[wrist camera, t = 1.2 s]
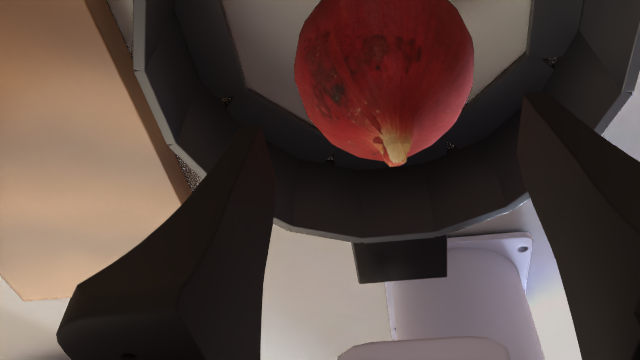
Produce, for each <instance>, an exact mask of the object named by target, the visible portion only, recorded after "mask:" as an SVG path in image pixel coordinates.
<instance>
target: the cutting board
mask: <svg viewBox="0 0 640 360" xmlns="http://www.w3.org/2000/svg"><path fill="white" fill-rule="evenodd" d="M191 193H192V191H191V189H190V187H189V185H188V182H187V180H186V178H185V176H184V173H183V171H182V169H181V167H180V165H179V162H178V160H177V158H176V156H175V153H174V152H173V151H172V150H171V149H170V148H169V147H168V144H166V142H165V139H164V137H163V135H162V133H161V131H160V128H159V126H158V124H157V122H156V120H155V117H154V115H153V113H152V111H151V109H150V106H149V104H148V102H147V100H146V98H145V95H144V93H143V91H142V89H141V87H140V84H139V82H138V80H137V78H136V75H135V73H134V69H133V60H132V57H131V55H130V53H129V51H128V48H127V46H126V44H125V42H124V39H123V37H122V35H121V33H120V30H119V28H118V26H117V24H116V22H115V19H114V17H113V15H112V13H111V10H110V8H109V6H108V4H107V1H106V0H0V276H1V277H2V278H3V279H4V280H5V281H6V282H7V283H8V285H9V286H10V287H11V288H12V289H13V290H14V291H15V292H16V293H17V294H18V296H19V297H20V298H21V299H22V300H23V301H32V300H45V299H58V298H71V297H72V295H73V293H74V291H75V289H76V287H77V285H78V284H79V283H81V282H83V281H85V280H86V279H88V278H89V277H91V276H93V275H94V274H96V273H98V272H99V271H101V270H102V269H104V268H106V267H107V266H109V265H110V264H112V263H113V262H115V261H116V260H118V259H119V258H120V257H122V256H123V255H125V254H126V253H127V252H129V251H130V250H131V249H133V248H134V247H135V246H137V245H138V244H139V243H141V242H142V241H143V240H144V239H145V238H147V237H148V236H149V235H150V234H151V233H152V232H153V231H155V230H156V229H157V228H158V227H159V226H160V225H162V224H163V223H164V222H165V221H166V220H167V219H168V218H169V217H170V216H171V215H172V214H173V213H174V212H175V211H176V210H177V209H178V208H179V207H180V206H181V205H182V204H183V203H184V202H185V201H186V199H187V198H188V197H189V196H190V195H191Z"/></svg>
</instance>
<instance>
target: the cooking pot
mask: <svg viewBox="0 0 640 360" xmlns="http://www.w3.org/2000/svg"><path fill="white" fill-rule="evenodd" d="M554 57H558V58H557V60H556V61H555V63H554V64H553V66H552V65H551V64H550V63H548V62H547V61H546V60H545V59H546V58H554ZM133 69H134V73H135V75H136V78H137V80H138V82H139V84H140V87H141V89H142V91H143V93H144V95H145V98H146V100H147V102H148V104H149V106H150V109H151V111H152V113H153V115H154V117H155V120H156V122H157V124H158V126H159V128H160V131H161V133H162V135H163V137H164V139H165V142H166V144H168V147H169V148H170V149H171V150H172V151H173V152H175V153H176V154H177V155H178V156H179V157H180V158H181V159H182V160H183V161H184V162H185V163H186V164H187V165H188V166H189V167H190V168H191V169H192V170H193V171H194V172H195V173H196V174H197V175H198V176H199V177H200V178H201V179H202V180H203V179H204V177H205V176H206V175H207V173H208V172H209V171H210V169H211V168H212V166H213V165H214V164H215V162H216V161H217V160H218V158H219V157H220V155H221V154H222V152H223V151H224V149H225V148H226V146H227V145H228V144H229V142H230V141H231V139H232V138H233V136H234V135H235V133H236V132H237V130H238V129H239V128H240V127H248V126H256V125H261V128H262V132H263V135H264V138H265V142H266V145H267V149H268V152H269V155H270V159H271V162H272V166H273V169H274V172H275V176H276V200H275V213H274V219H273V224H275V225H277V226H279V227H281V228H283V229H285V230H287V231H289V230H290V232H296V233H302V234H307V235H313V236H319V237H324V238H330V239H336V240H342V241H347V242H351V244H352V249H353V255H354V260H355V265H356V271H357V276H358V282H359V284H366V283H379V282H392V281H405V280H418V279H431V278H445V277H447V234H449V233H451V232H454V231H457V230H460V229H463V228H466V227H468V226H471V225H474V224H477V223H480V222H483V221H485V220H488V219H491V218H494V217H497V216H500V215H502V214H505V213H508V212H510V210H514V209H515V208H517V207H518V206H520V205H521V204H523V203H524V202H525V201H527V200H528V199H530V196H529V193H528V191H527V188H526V186H525V183H524V179H523V176H522V172H521V168H520V164H519V160H518V156H517V147H518V138H519V129H520V120H521V112H522V103H523V95H524V94H533V93H542V92H548V93H549V94H551V95H552V96H553V97H554V98H555V99H556V100H558V101H559V102H560V103H561V104H562V105H564V106H565V107H566V108H567V109H568V110H569V111H571V112H572V113H573V114H574V115H575V116H577V117H578V118H579V119H580V120H582V121H583V122H584V123H585V124H586V125H588V126H589V127H590V128H592V129H593V130H594V131H595V132H597V133H598V134H599V135H602V133H603V132H604V131H605V129H606V128H607V127H608V125H609V124H610V123H611V122H612V120H613V119H614V118H615V116H616V115H617V114H618V112H619V111H620V110H621V108H622V107H623V106H624V104H625V103H626V102H627V100H628V99H629V98H630V96H631V95H632V92H633V91H634V89H635V85H636V81H637V78H638V74H639V71H640V0H531V9H530V18H529V28H528V37H527V46H526V53H524V54H523V55H522V56H521V57H520V58H519V59H518V60H517V61H516V62H514V63H513V64H512V65H511V66H510V67H509V68H508V69H507V70H505V71H504V72H503V73H502V74H501V75H500V76H499V77H498V78H497V79H495V80H494V81H493V82H492V83H491V84H490V85H489V86H488V87H486V88H485V89H484V90H483V91H482V92H481V93H480V94H479V95H477V96H476V97H475V98H474V99H473V100H472V101H471V102H470V103H469V104H467V105H466V106H465V107H464V108H463V109H462V110H461V112H460V114H459V116H458V118H457V120H456V122H455V123H454V124H453V126H452V127H451V128H450V129H449V130H448V131H447V132H446V133H444V134H443V135H442V136H441V137H440V138H439V139H438V140H437V141H436V142H434V143H433V144H432V145H431V146H429V147H427V148H425V149H423V150H421V151H419V152H417V153H415V154H413V155H411V156H409V157H407V161H406V162H405V163H404V164H402V165H400V166H394V167H390V166H389V165H388V164H387V163H386V162H385V161H379V160H372V159H366V158H360V157H357V156H355V155H353V154H351V153H349V152H347V151H345V150H343V149H341V148H338V147H337V146H335V145H333V144H332V143H330V141H329V140H328V139H327V138H326V137H325V136H324V135H323V134H322V132H321V131H320V130H319V129H317V128H315V127H314V126H312V125H310V124H309V123H307V122H305V121H304V120H302V119H300V118H298V117H297V116H295V115H293V114H292V113H290V112H288V111H287V110H285V109H283V108H282V107H280V106H278V105H276V104H275V103H273V102H271V101H270V100H268V99H266V98H265V97H263V96H261V95H259V94H258V93H256V92H254V91H253V90H251V89H249V88H248V87H247V86H246V82H245V79H244V75H243V72H242V69H241V65H240V62H239V59H238V55H237V52H236V48H235V45H234V42H233V38H232V35H231V32H230V28H229V25H228V22H227V18H226V15H225V11H224V8H223V5H222V1H221V0H133ZM229 97H232V99H231V100H230V102H229V103H228V104H227V105H226V104H225V103H224V102H223V101H222V100H221V98H229ZM447 141H448V142H450V143H451V144H453V145H454V146H456V147H454V148H451V149H449V150H447ZM332 153H333V157H334V162H332V161H327V160H326V159H327V158H328V157H329V156H330V155H331V154H332Z"/></svg>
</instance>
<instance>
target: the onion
mask: <svg viewBox="0 0 640 360" xmlns="http://www.w3.org/2000/svg"><path fill="white" fill-rule="evenodd" d="M473 67H474V47H473V42H472V37H471V35H470V33H469V32H468V30H467V28H466V26H465V24H464V22H463V20H462V18H461V16H460V14H459V12H458V10H457V9H456V8H455V7H454V6H453V5H452V4H451V3H450V2H449V1H448V0H321V1H320V2H319V4H318V5H317V6H316V7H315V9H314V10H313V11H312V13H311V14H310V15H309V17H308V18H307V19H306V20H305V22H304V25H303V27H302V29H301V32H300V34H299V40H298V46H297V51H296V57H295V63H294V77H295V82H296V85H297V88H298V91H299V94H300V97H301V99H302V102H303V105H304V108H305V110H306V113H307V115H308V117H309V119H310V120H311V121H312V122H313V123H314V125H315V126H316V127H317V128H318V129H319V130H320V131H321V132H322V134H323V135H324V136H325V137H326V138H327V139H328V140H329V141H330V143H332V144H333V145H335V146H337V147H338V148H341V149H343V150H345V151H347V152H349V153H351V154H353V155H355V156H357V157H360V158H366V159H372V160H379V161H385V162H386V163H387V164H388V165H389V166H390V167H394V166H400V165H402V164H404V163H405V162H406V161H407V157H409V156H411V155H413V154H415V153H417V152H419V151H421V150H423V149H425V148H427V147H429V146H431V145H432V144H433V143H434V142H436V141H437V140H438V139H439V138H440V137H441V136H442V135H443V134H444V133H446V132H447V131H448V130H449V129H450V128H451V127H452V126H453V124H454V123H455V122H456V120H457V118H458V116H459V114H460V112H461V110H462V108H463V106H464V104H465V102H466V100H467V98H468V96H469V94H470V91H471V88H472V85H473Z"/></svg>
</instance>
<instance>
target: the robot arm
mask: <svg viewBox="0 0 640 360" xmlns="http://www.w3.org/2000/svg"><path fill="white" fill-rule="evenodd" d="M517 156H518V160H519V164H520V168H521V172H522V176H523V179H524V183H525V186H526V188H527V191H528V193H529V196H530V198H531V201H532V203H533V206H534V208H535V210H536V213H537V215H538V217H539V220H540V222H541V225H542V227H543V229H544V232H545V234H546V236H547V239H548V241H549V244H550V246H551V248H552V251H553V254H554V257H555V259H556V262H557V265H558V269H559V272H560V276H561V279H562V283H563V286H564V290H565V293H566V297H567V301H568V305H569V308H570V312H571V316H572V320H573V323H574V327H575V332H576V336H577V340H578V344H579V348H580V352H581V356H582V360H640V162H639V161H638V160H636V159H634V158H633V157H631V156H630V155H628V154H627V153H625V152H624V151H622V150H621V149H619V148H618V147H616V146H615V145H613V144H612V143H610V142H609V141H608V140H606V139H605V138H603V137H602V136H601V135H599V134H598V133H597V132H595V131H594V130H593V129H592V128H590V127H589V126H588V125H586V124H585V123H584V122H583V121H582V120H580V119H579V118H578V117H577V116H575V115H574V114H573V113H572V112H571V111H569V110H568V109H567V108H566V107H565V106H564V105H562V104H561V103H560V102H559V101H558V100H556V99H555V98H554V97H553V96H552V95H551V94H549V93H548V92H542V93H533V94H524V95H523V103H522V112H521V120H520V129H519V138H518V147H517ZM275 200H276V176H275V172H274V169H273V166H272V162H271V159H270V155H269V152H268V149H267V145H266V142H265V138H264V135H263V132H262V128H261V125H256V126H248V127H240V128H239V129H238V130H237V132H236V133H235V135H234V136H233V138H232V139H231V141H230V142H229V144H228V145H227V146H226V148H225V149H224V151H223V152H222V154H221V155H220V157H219V158H218V160H217V161H216V162H215V164H214V165H213V166H212V168H211V169H210V171H209V172H208V173H207V175H206V176H205V177H204V179H203V180H202V181H201V182H200V184H199V185H198V186H197V187H196V189H195V190H194V191H193V192H192V193H191V195H190V196H189V197H188V198H187V199H186V201H185V202H184V203H183V204H182V205H181V206H180V207H179V208H178V209H177V210H176V211H175V212H174V213H173V214H172V215H171V216H170V217H169V218H168V219H167V220H166V221H165V222H164V223H163V224H162V225H160V226H159V227H158V228H157V229H156V230H155V231H153V232H152V233H151V234H150V235H149V236H148V237H147V238H145V239H144V240H143V241H142V242H141V243H139V244H138V245H137V246H135V247H134V248H133V249H131V250H130V251H129V252H127V253H126V254H125V255H123V256H122V257H120V258H119V259H118V260H116V261H115V262H113V263H112V264H110V265H109V266H107V267H106V268H104V269H102V270H101V271H99V272H98V273H96V274H94V275H93V276H91V277H89V278H88V279H86V280H85V281H83V282H81V283H79V284H78V285H77V287H76V289H75V291H74V293H73V295H72V297H71V299H70V301H69V304H68V306H67V309H66V311H65V314H64V316H63V318H62V321H61V323H60V326H59V328H58V331H57V333H56V336H57V341H58V343H59V345H60V346H61V348H62V349H63V351H64V352H65V353H66V354H67V355H68V356H69V357H70V358H71V360H260V344H261V316H262V296H263V282H264V274H265V267H266V261H267V255H268V249H269V243H270V237H271V231H272V225H273V219H274V213H275ZM532 247H533V238H532V235H531V234H530V233H528V232H512V233H500V234H489V235H477V236H465V237H453V238H447V277H445V278H431V279H418V280H405V281H392V282H385V290H386V297H387V305H388V312H389V320H390V328H391V335H392V338H393V339H394V340H397V341H381V342H370V343H365V344H361V345H356V346H353V347H351V348H350V349H348V350H347V351H345V352H344V353H342V354H341V355H340V356H338V359H337V360H545V357H544V354H543V350H542V347H541V344H540V341H539V337H538V334H537V331H536V327H535V324H534V321H533V317H532V314H531V311H530V308H529V304H528V301H527V298H526V294H525V290H526V284H527V278H528V271H529V265H530V259H531V253H532Z"/></svg>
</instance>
